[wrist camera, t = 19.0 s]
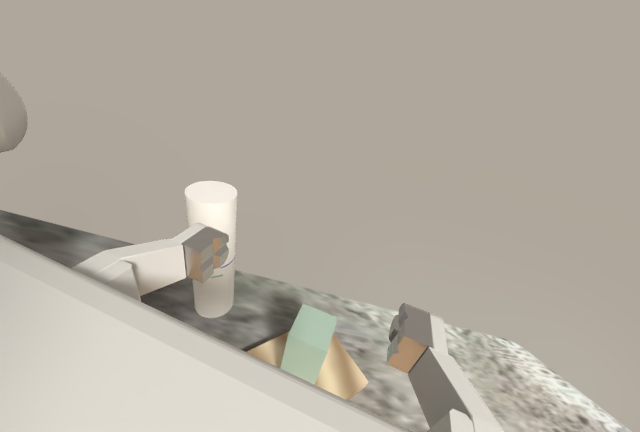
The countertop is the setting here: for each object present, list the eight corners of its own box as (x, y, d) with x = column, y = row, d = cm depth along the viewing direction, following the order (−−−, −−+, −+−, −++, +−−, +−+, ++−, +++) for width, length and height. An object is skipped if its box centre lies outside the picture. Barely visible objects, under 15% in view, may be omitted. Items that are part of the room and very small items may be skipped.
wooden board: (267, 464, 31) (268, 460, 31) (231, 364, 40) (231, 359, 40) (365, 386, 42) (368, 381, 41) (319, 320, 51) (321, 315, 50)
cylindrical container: (240, 303, 50) (247, 195, 38) (208, 325, 45) (202, 209, 32) (220, 283, 54) (219, 177, 41) (187, 301, 48) (174, 187, 36)
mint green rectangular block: (310, 395, 38) (327, 351, 31) (277, 380, 38) (288, 334, 32) (321, 361, 42) (337, 317, 36) (291, 348, 43) (302, 303, 37)
